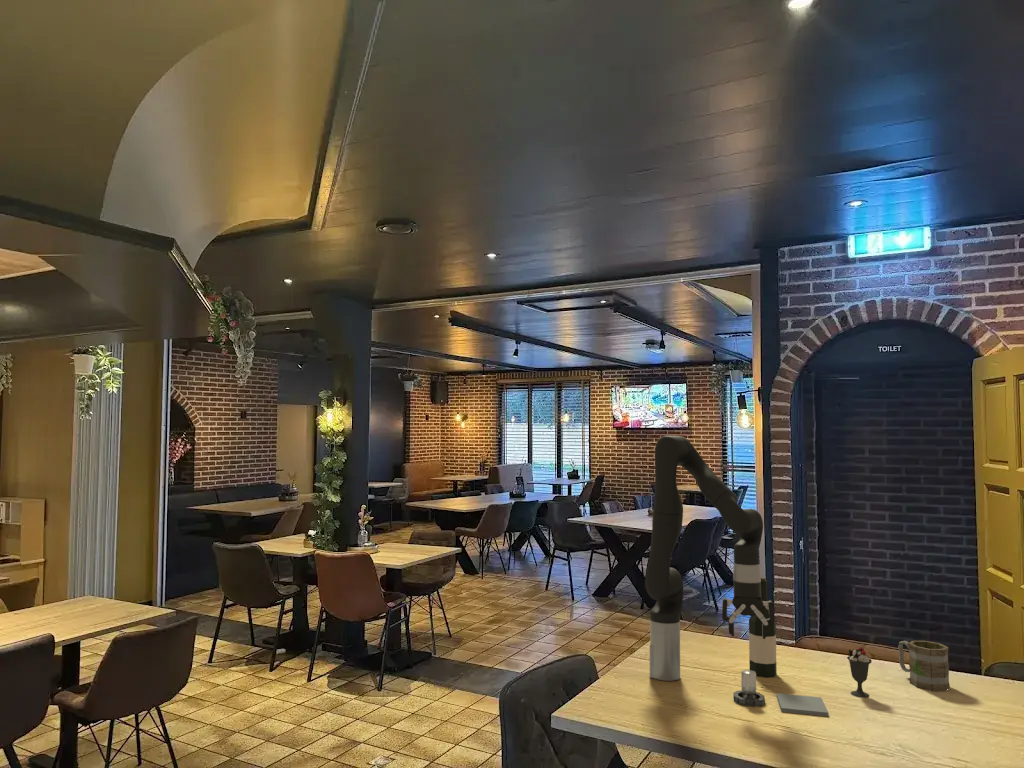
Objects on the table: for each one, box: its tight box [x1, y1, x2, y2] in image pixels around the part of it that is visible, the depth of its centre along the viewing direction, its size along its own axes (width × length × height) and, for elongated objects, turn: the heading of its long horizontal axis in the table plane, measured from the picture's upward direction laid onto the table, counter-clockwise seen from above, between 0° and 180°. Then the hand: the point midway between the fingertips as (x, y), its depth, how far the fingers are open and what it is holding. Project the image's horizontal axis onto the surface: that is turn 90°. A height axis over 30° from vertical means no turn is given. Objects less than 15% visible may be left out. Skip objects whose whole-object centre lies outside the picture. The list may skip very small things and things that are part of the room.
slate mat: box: [776, 692, 829, 717], centre depth 200 cm, size 12×12×1 cm
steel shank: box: [740, 669, 757, 700], centre depth 204 cm, size 4×4×8 cm
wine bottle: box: [748, 576, 778, 679], centre depth 230 cm, size 8×8×30 cm
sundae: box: [846, 643, 872, 698], centre depth 211 cm, size 7×7×15 cm
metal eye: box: [732, 690, 766, 708], centre depth 204 cm, size 8×8×2 cm
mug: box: [897, 640, 951, 692], centre depth 222 cm, size 16×11×12 cm
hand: (748, 637), depth 205 cm, fingers open, 8 cm apart
